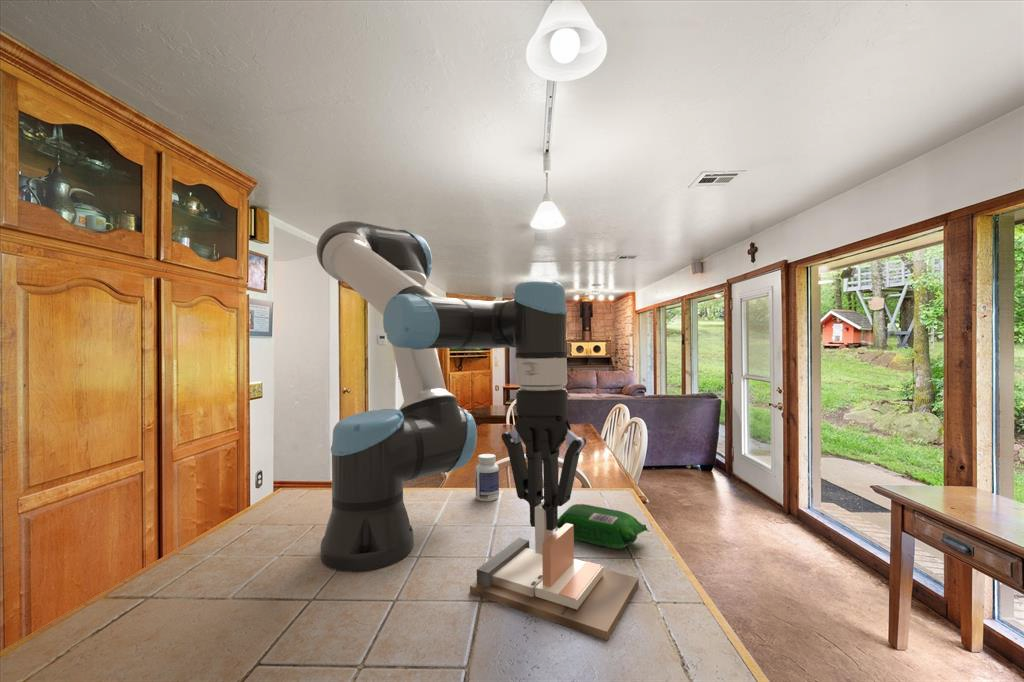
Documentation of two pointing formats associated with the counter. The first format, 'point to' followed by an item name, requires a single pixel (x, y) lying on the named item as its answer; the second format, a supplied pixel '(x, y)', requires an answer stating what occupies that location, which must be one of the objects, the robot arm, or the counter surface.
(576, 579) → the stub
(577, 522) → the snack package
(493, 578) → the wooden base board
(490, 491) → the pill bottle
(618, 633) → the counter surface
